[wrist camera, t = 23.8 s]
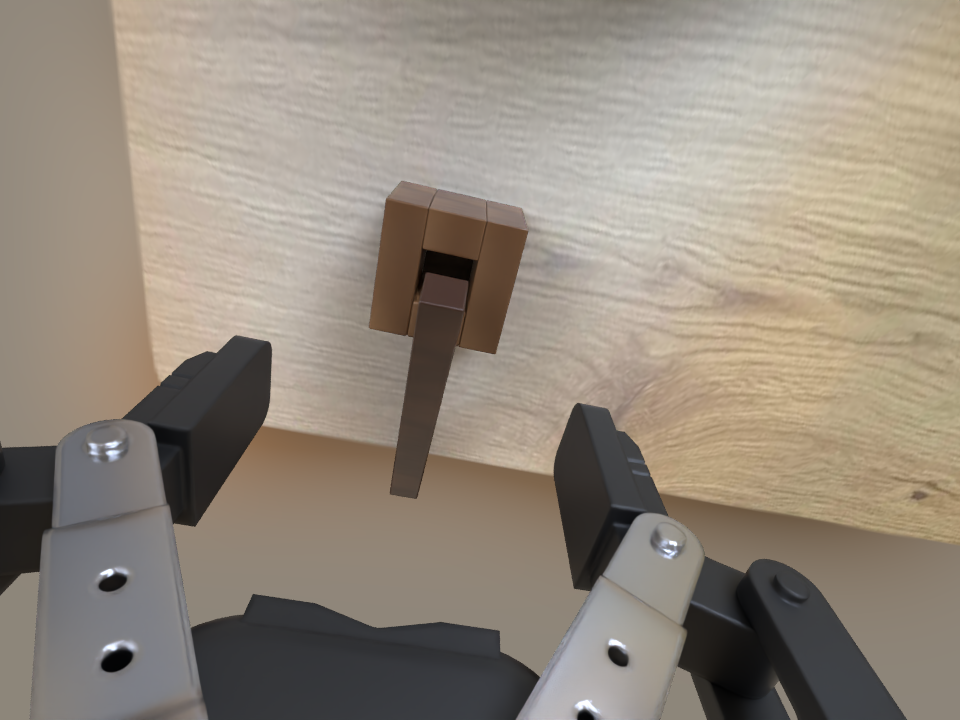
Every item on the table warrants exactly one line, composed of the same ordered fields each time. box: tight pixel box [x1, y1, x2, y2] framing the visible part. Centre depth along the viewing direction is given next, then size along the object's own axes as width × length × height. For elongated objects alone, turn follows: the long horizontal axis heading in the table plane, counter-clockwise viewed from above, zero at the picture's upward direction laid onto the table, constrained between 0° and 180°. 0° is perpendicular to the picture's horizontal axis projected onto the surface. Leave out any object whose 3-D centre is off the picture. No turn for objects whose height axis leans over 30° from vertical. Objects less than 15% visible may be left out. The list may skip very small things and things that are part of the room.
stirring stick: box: [390, 273, 469, 499], centre depth 24 cm, size 2×2×16 cm
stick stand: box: [369, 181, 528, 354], centre depth 22 cm, size 5×5×4 cm
